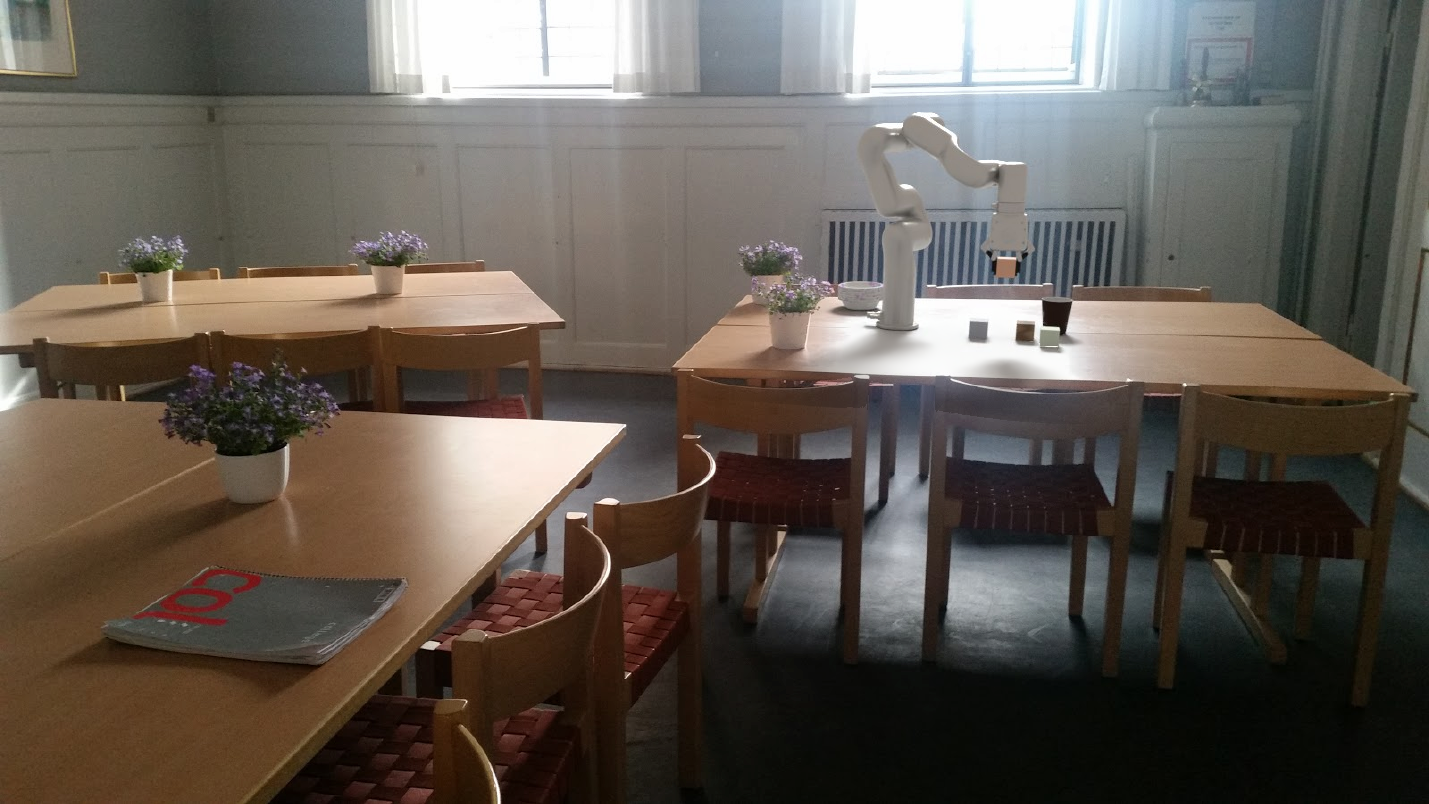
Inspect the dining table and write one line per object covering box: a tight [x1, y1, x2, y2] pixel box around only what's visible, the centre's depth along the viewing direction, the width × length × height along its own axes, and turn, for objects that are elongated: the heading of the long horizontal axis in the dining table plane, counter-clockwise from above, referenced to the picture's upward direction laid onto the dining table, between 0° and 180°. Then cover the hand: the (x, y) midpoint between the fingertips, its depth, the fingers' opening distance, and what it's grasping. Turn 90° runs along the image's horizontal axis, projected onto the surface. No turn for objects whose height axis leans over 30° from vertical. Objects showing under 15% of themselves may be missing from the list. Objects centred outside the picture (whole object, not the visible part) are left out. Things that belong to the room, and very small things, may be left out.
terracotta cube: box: [995, 256, 1017, 279], centre depth 306 cm, size 5×5×5 cm
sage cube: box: [1039, 325, 1061, 348], centre depth 308 cm, size 5×5×5 cm
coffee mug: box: [1041, 296, 1074, 336], centre depth 325 cm, size 12×9×10 cm
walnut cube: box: [1015, 319, 1036, 342], centre depth 316 cm, size 5×5×5 cm
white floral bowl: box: [837, 281, 883, 311], centre depth 362 cm, size 15×15×8 cm
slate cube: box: [968, 317, 989, 340], centre depth 319 cm, size 5×5×5 cm
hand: (1005, 274), depth 306 cm, fingers closed on terracotta cube, 5 cm apart
